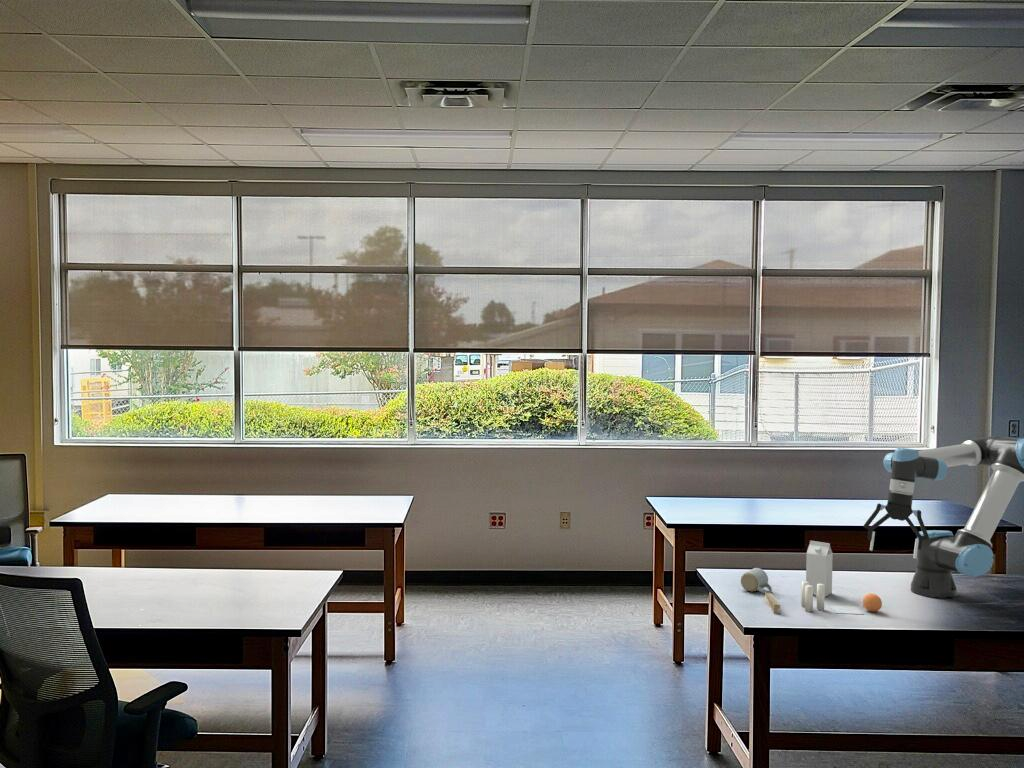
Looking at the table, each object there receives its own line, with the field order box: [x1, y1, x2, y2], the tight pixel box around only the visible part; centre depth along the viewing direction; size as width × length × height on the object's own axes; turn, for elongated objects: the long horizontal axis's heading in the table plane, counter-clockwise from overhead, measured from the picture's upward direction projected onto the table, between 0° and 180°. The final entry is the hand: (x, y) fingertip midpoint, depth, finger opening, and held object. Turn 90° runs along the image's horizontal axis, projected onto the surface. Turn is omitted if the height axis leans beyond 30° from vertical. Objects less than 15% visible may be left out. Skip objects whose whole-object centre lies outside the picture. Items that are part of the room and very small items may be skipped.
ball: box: [862, 593, 883, 613], centre depth 269 cm, size 6×6×6 cm
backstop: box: [764, 592, 781, 615], centre depth 272 cm, size 2×14×3 cm, turn 174°
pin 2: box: [804, 585, 814, 613], centre depth 269 cm, size 2×2×8 cm
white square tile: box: [828, 605, 864, 615], centre depth 270 cm, size 9×8×1 cm
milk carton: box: [805, 540, 834, 598], centre depth 290 cm, size 7×7×19 cm
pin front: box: [816, 584, 825, 611], centre depth 271 cm, size 2×2×8 cm
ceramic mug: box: [740, 567, 773, 594], centre depth 293 cm, size 11×8×8 cm
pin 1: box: [800, 580, 809, 608], centre depth 274 cm, size 2×2×8 cm
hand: (892, 554), depth 271 cm, fingers open, 13 cm apart
